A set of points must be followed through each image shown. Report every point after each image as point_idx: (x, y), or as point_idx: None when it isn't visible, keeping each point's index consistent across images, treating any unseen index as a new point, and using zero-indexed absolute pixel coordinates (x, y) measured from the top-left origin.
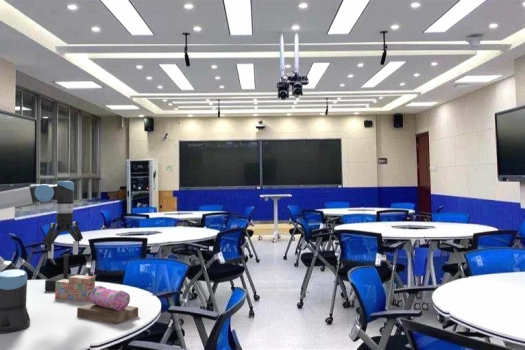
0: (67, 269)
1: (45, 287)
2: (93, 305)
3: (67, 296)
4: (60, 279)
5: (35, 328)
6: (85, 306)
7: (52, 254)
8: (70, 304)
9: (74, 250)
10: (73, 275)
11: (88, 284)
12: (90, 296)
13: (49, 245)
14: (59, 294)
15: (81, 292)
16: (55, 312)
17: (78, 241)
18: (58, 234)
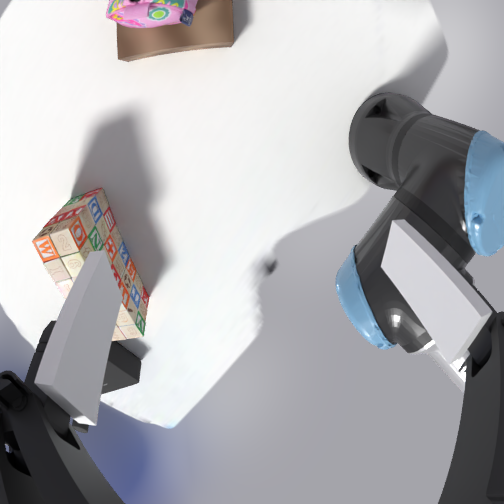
0: None
1: (140, 366)
2: None
3: (128, 265)
4: (105, 369)
5: (370, 69)
6: (205, 30)
7: (422, 239)
8: (151, 198)
9: (105, 309)
10: None
11: (70, 217)
12: (192, 6)
13: (492, 311)
14: (141, 293)
15: (99, 221)
16: (239, 151)
17: (32, 387)
18: (495, 465)
